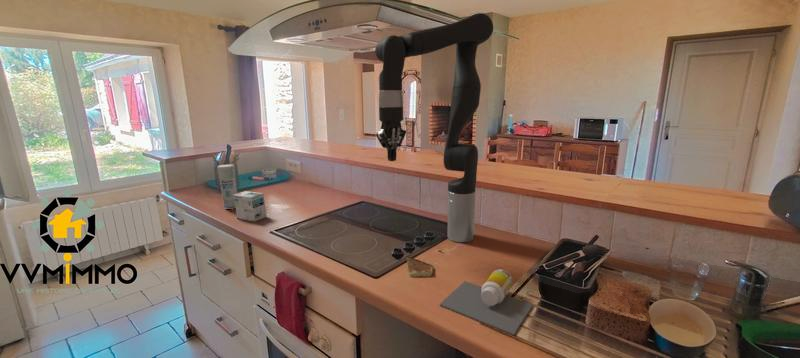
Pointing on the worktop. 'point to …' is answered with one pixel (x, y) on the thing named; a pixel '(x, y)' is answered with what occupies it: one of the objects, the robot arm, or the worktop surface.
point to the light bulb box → (250, 206)
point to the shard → (419, 268)
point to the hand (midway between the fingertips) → (392, 160)
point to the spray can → (227, 185)
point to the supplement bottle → (496, 287)
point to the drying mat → (487, 308)
